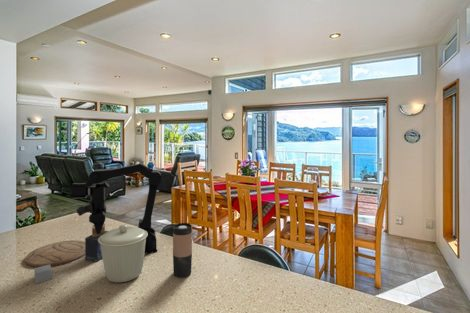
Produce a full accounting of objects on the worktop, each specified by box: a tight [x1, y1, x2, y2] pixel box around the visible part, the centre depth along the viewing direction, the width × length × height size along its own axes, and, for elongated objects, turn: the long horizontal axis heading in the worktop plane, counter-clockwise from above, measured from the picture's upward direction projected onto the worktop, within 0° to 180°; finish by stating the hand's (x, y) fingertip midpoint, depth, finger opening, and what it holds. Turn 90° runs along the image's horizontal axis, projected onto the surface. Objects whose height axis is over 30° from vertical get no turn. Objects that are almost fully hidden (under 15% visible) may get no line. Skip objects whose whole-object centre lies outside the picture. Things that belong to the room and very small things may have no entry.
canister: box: [98, 223, 148, 284], centre depth 103 cm, size 18×18×21 cm
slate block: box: [33, 264, 53, 284], centre depth 100 cm, size 5×5×4 cm
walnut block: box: [91, 223, 106, 237], centre depth 119 cm, size 5×5×4 cm
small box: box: [84, 230, 109, 263], centre depth 119 cm, size 11×6×10 cm, turn 169°
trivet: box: [24, 239, 85, 268], centre depth 121 cm, size 25×25×2 cm
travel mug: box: [172, 222, 193, 279], centre depth 105 cm, size 8×8×20 cm
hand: (98, 230), depth 119 cm, fingers open, 9 cm apart
